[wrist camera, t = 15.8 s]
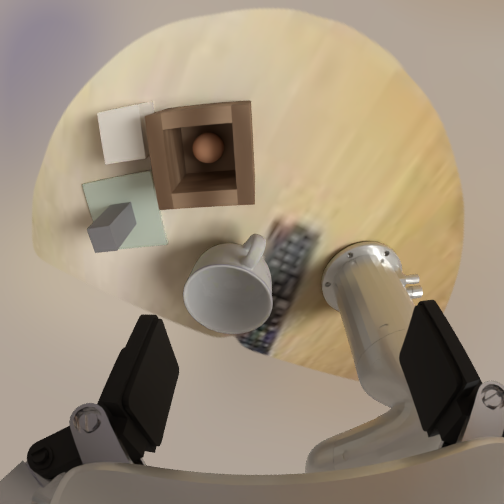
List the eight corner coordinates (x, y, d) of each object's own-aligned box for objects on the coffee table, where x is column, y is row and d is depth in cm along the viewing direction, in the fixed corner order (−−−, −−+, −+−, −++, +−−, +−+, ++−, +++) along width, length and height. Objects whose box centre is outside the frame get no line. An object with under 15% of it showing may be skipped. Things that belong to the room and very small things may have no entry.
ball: (224, 129, 32) (220, 133, 29) (226, 158, 34) (223, 165, 31) (194, 132, 32) (188, 136, 29) (197, 160, 34) (191, 167, 31)
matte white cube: (153, 101, 31) (138, 104, 27) (159, 148, 34) (145, 158, 30) (116, 108, 31) (97, 113, 27) (122, 153, 34) (105, 164, 30)
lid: (151, 169, 36) (129, 190, 29) (168, 241, 41) (153, 274, 34) (84, 182, 36) (54, 205, 30) (105, 248, 42) (82, 278, 35)
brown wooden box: (250, 100, 31) (249, 104, 24) (254, 179, 36) (254, 204, 29) (167, 108, 32) (144, 115, 25) (177, 184, 36) (158, 210, 30)
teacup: (240, 307, 47) (237, 346, 40) (179, 272, 43) (166, 308, 36) (301, 245, 41) (310, 280, 34) (236, 198, 37) (231, 227, 31)
